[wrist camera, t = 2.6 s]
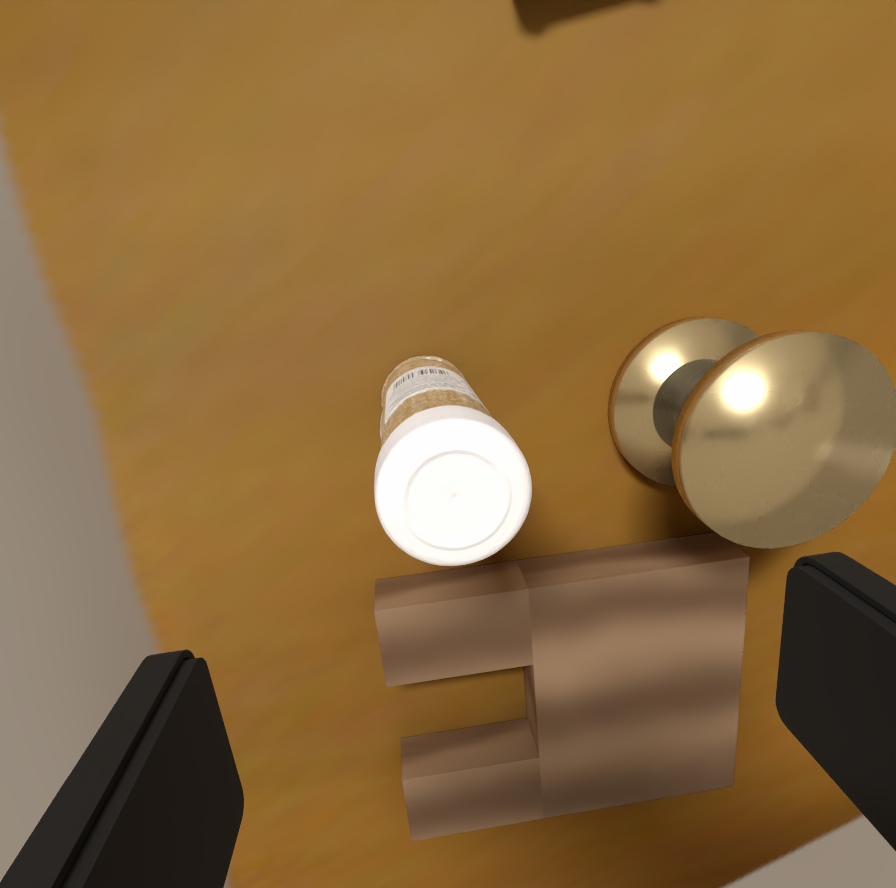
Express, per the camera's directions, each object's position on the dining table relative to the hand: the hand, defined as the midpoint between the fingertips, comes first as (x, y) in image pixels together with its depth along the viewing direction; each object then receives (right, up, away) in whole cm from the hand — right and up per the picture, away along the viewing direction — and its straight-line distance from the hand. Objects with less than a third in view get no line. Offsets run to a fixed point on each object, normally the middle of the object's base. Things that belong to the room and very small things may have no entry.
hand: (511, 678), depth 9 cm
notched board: (+6, -10, +25) cm, 28 cm away
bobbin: (+12, +6, +21) cm, 25 cm away
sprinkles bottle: (-2, +6, +20) cm, 21 cm away
